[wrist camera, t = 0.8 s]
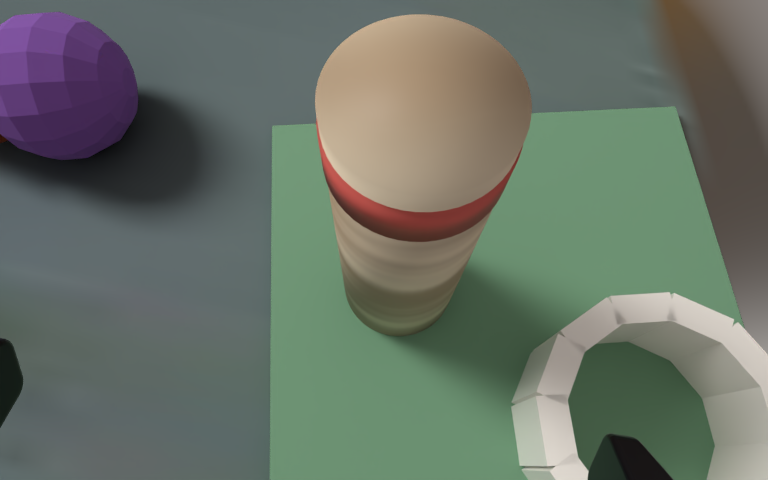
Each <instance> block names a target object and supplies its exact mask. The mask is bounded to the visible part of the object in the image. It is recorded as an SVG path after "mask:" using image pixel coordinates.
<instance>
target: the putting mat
mask: <svg viewBox="0 0 768 480" xmlns="http://www.w3.org/2000/svg"><path fill="white" fill-rule="evenodd" d="M664 292H670V294H673V293H675V294H678V295H680V296H682V297H685V298H687V299H689V300H691V301H694V302H696V303H698V304H701V305H703V306H705V307H707V308H710V309H712V310H714V311H716V312H719V313H721V314H723V315H726V316H728V317H730V318H732V319H734V322H733V324H734V323H737V322H738V323H739V324H740V325H741V326H742V327H743V328H744V325H743V321H742V318H741V315H740V312H739V309H738V305H737V302H736V299H735V296H734V293H733V289H732V286H731V283H730V280H729V277H728V273H727V270H726V267H725V264H724V261H723V257H722V254H721V251H720V248H719V245H718V241H717V238H716V235H715V232H714V229H713V225H712V222H711V219H710V216H709V213H708V209H707V206H706V203H705V200H704V197H703V193H702V190H701V187H700V184H699V181H698V177H697V174H696V171H695V168H694V165H693V161H692V158H691V155H690V152H689V148H688V145H687V142H686V139H685V136H684V132H683V129H682V126H681V123H680V120H679V116H678V113H677V110H676V107H655V108H635V109H614V110H593V111H572V112H551V113H531V122H530V127H529V130H528V133H527V136H526V139H525V141H524V143H523V148H522V151H521V154H520V157H519V159H518V162H517V164H516V166H515V168H514V170H513V172H512V174H511V176H510V179H509V181H508V183H507V185H506V187H505V189H504V191H503V193H502V195H501V197H500V199H499V200H498V202H497V204H496V205H495V206H494V208H493V210H492V212H491V214H490V216H489V218H488V220H487V222H486V224H485V227H484V229H483V231H482V233H481V235H480V237H479V239H478V242H477V244H476V246H475V248H474V250H473V252H472V254H471V257H470V259H469V261H468V263H467V265H466V267H465V269H464V271H463V274H462V276H461V278H460V280H459V282H458V284H457V286H456V289H455V291H454V293H453V295H452V297H451V299H450V301H449V304H448V306H447V308H446V309H445V311H444V313H443V314H442V316H441V317H440V318H439V319H438V320H437V321H436V322H435V323H434V324H433V325H431V326H430V327H429V328H427V329H425V330H424V331H421V332H419V333H416V334H412V335H408V336H390V335H385V334H382V333H379V332H377V331H374V330H373V329H371V328H369V327H368V326H366V325H365V324H364V323H362V322H361V321H360V320H359V319H358V318H357V316H356V315H355V314H354V312H353V311H352V309H351V307H350V305H349V303H348V300H347V297H346V293H345V287H344V281H343V275H342V269H341V263H340V256H339V250H338V244H337V238H336V232H335V226H334V220H333V214H332V208H331V201H330V195H329V189H328V185H327V182H326V179H325V175H324V171H323V166H322V160H321V154H320V148H319V143H318V137H317V127H316V124H301V125H280V126H272V232H271V376H270V480H528V479H527V477H526V476H525V474H524V473H523V472H522V469H523V468H525V467H526V466H520V464H519V457H518V450H517V444H516V437H515V430H514V423H513V416H512V410H511V406H513V405H515V404H513V403H511V402H512V400H513V397H514V395H515V392H516V390H517V387H518V384H519V382H520V379H521V377H522V374H523V372H524V369H525V366H526V364H527V361H528V359H529V356H530V354H531V352H533V350H534V349H535V348H537V347H538V346H539V345H541V344H542V343H544V342H545V341H546V340H548V339H549V338H550V337H552V336H553V335H555V334H556V333H557V332H559V331H560V330H562V329H563V328H564V327H566V326H567V325H568V324H570V323H571V322H573V321H574V320H575V319H577V318H578V317H580V316H581V315H582V314H584V313H585V312H587V311H588V310H589V309H591V308H592V307H594V306H595V305H596V304H598V303H599V302H601V301H602V300H603V299H605V298H606V297H607V298H608V297H610V296H616V295H632V294H648V293H664ZM744 329H745V328H744ZM568 405H569V410H570V416H571V421H572V427H573V432H574V437H575V443H576V448H577V454H578V458H579V459H580V460H581V462H582V463H583V464H584V466H585V467H586V468H587V470H588V471H589V468H590V466H591V463H592V461H593V459H594V457H595V454H596V452H597V450H598V448H599V446H600V443H601V441H602V439H603V438H604V436H605V435H607V434H609V433H613V434H619V435H626V436H632V437H634V438H636V439H638V440H639V441H640V442H641V443H642V444H643V445H644V446H645V448H646V449H647V450H648V451H649V452H650V453H651V454H652V456H653V457H654V458H655V459H656V460H657V461H658V462H659V463H660V465H661V466H662V467H663V468H664V469H665V470H666V471H667V473H668V474H669V475H670V476H671V477H672V478H673V479H674V480H707V476H708V472H709V468H710V463H711V459H712V455H713V451H714V447H715V444H714V441H713V437H712V433H711V429H710V426H709V422H708V418H707V415H706V411H705V407H704V404H703V400H702V398H701V396H700V395H699V394H698V393H697V392H696V391H695V389H694V388H693V387H692V386H691V385H690V384H689V382H688V381H687V380H686V379H685V378H684V376H683V375H682V374H681V373H680V372H679V371H678V369H677V368H676V367H675V366H674V365H673V363H672V362H671V361H669V360H667V359H665V358H663V357H661V356H659V355H656V354H654V353H652V352H650V351H648V350H645V349H643V348H641V347H639V346H637V345H635V344H632V343H630V342H616V343H600V344H595V345H594V346H592V347H591V348H590V349H588V350H587V351H585V352H584V355H583V358H582V361H581V364H580V367H579V369H578V372H577V375H576V378H575V381H574V384H573V386H572V389H571V392H570V395H569V398H568Z"/></svg>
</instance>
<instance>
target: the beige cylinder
mask: <svg viewBox="0 0 768 480" xmlns="http://www.w3.org/2000/svg"><path fill="white" fill-rule="evenodd" d="M315 107H316V116H317V119H316V127H317V137H318V143H319V148H320V154H321V160H322V166H323V171H324V175H325V179H326V182H327V185H328V189H329V195H330V201H331V208H332V214H333V220H334V226H335V232H336V238H337V244H338V250H339V256H340V263H341V269H342V275H343V281H344V287H345V293H346V297H347V300H348V303H349V305H350V307H351V309H352V311H353V312H354V314H355V315H356V316H357V318H358V319H359V320H360V321H361V322H362V323H364V324H365V325H366V326H368V327H369V328H371V329H373V330H374V331H377V332H379V333H382V334H385V335H390V336H408V335H412V334H416V333H419V332H421V331H424V330H425V329H427V328H429V327H430V326H431V325H433V324H434V323H435V322H436V321H437V320H438V319H439V318H440V317H441V316H442V314H443V313H444V311H445V309H446V308H447V306H448V304H449V301H450V299H451V297H452V295H453V293H454V291H455V289H456V286H457V284H458V282H459V280H460V278H461V276H462V274H463V271H464V269H465V267H466V265H467V263H468V261H469V259H470V257H471V254H472V252H473V250H474V248H475V246H476V244H477V242H478V239H479V237H480V235H481V233H482V231H483V229H484V227H485V224H486V222H487V220H488V218H489V216H490V214H491V212H492V210H493V208H494V206H495V205H496V204H497V202H498V200H499V199H500V197H501V195H502V193H503V191H504V189H505V187H506V185H507V183H508V181H509V179H510V176H511V174H512V172H513V170H514V168H515V166H516V164H517V162H518V159H519V157H520V154H521V151H522V148H523V143H524V141H525V139H526V136H527V133H528V130H529V127H530V122H531V113H532V103H531V95H530V91H529V87H528V83H527V81H526V78H525V76H524V74H523V72H522V70H521V68H520V67H519V65H518V63H517V62H516V60H515V59H514V58H513V57H512V55H511V54H510V53H509V52H508V51H507V50H506V49H505V48H504V47H503V46H502V45H501V44H500V43H499V42H498V41H496V40H495V39H494V38H492V37H491V36H490V35H488V34H486V33H485V32H483V31H481V30H480V29H478V28H476V27H473V26H471V25H469V24H467V23H464V22H461V21H458V20H455V19H451V18H447V17H442V16H434V15H404V16H397V17H392V18H388V19H384V20H381V21H378V22H375V23H373V24H371V25H368V26H366V27H364V28H362V29H361V30H359V31H357V32H355V33H354V34H352V35H351V36H350V37H348V38H347V39H346V40H345V41H343V42H342V43H341V44H340V45H339V46H338V47H337V48H336V49H335V51H334V52H333V53H332V55H331V56H330V57H329V58H328V60H327V62H326V64H325V65H324V67H323V69H322V72H321V74H320V77H319V79H318V84H317V88H316V97H315Z"/></svg>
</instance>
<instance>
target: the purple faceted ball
mask: <svg viewBox="0 0 768 480" xmlns="http://www.w3.org/2000/svg"><path fill="white" fill-rule="evenodd" d="M137 107H138V90H137V83H136V79H135V75H134V71H133V68H132V66H131V64H130V62H129V59H128V57H127V55H126V54H125V53H124V51H123V50H122V49H121V47H120V46H119V45H118V44H117V43H115V42H114V41H113V40H112V39H111V38H110V37H109V36H107V35H106V34H105V33H104V32H103V31H102V30H100V29H99V28H97V27H96V26H94V25H93V24H91V23H90V22H88V21H85V20H82V19H79V18H76V17H73V16H70V15H67V14H64V13H61V12H52V13H37V14H26V15H14V16H13V17H11V18H10V19H8V20H7V21H5V22H4V23H2V24H1V25H0V143H3V142H5V141H10V142H11V143H12V144H14V145H15V146H16V147H17V148H19V149H22V150H25V151H28V152H31V153H34V154H37V155H40V156H43V157H48V158H53V159H58V160H68V159H81V158H89V157H90V156H92V155H94V154H96V153H98V152H99V151H101V150H103V149H105V148H107V147H109V146H110V145H112V144H114V143H116V142H118V141H120V140H121V138H122V137H123V135H124V134H125V132H126V130H127V129H128V127H129V126H130V124H131V123H132V121H133V119H134V117H135V115H136V113H137Z"/></svg>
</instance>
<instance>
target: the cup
mask: <svg viewBox="0 0 768 480" xmlns="http://www.w3.org/2000/svg"><path fill="white" fill-rule="evenodd" d="M733 322H734V319H732V318H730V317H728V316H726V315H723V314H721V313H719V312H716V311H714V310H712V309H710V308H707V307H705V306H703V305H701V304H698V303H696V302H694V301H691V300H689V299H687V298H685V297H682V296H680V295H678V294H675V293H673V294H670V292H664V293H648V294H632V295H616V296H610V297H608V298H607V297H606V298H605V299H603V300H602V301H601V302H599V303H598V304H596V305H595V306H594V307H592V308H591V309H589V310H588V311H587V312H585V313H584V314H582V315H581V316H580V317H578V318H577V319H575V320H574V321H573V322H571V323H570V324H568V325H567V326H566V327H564V328H563V329H562V330H560V331H559V332H557V333H556V334H555V335H553V336H552V337H550V338H549V339H548V340H546V341H545V342H544V343H542V344H541V345H539V346H538V347H537V348H535V349H534V350H533V352H531V354H530V356H529V359H528V361H527V364H526V366H525V369H524V372H523V374H522V377H521V379H520V382H519V384H518V387H517V390H516V392H515V395H514V397H513V400H512V402H511V403H513V404H515V405H513V406H511V410H512V416H513V423H514V430H515V437H516V444H517V450H518V457H519V464H520V466H526V467H525V468H523V469H522V472H523V473H524V474H525V476H526V477H527V479H528V480H588V472H589V471H588V470H587V468H586V467H585V466H584V464H583V463H582V462H581V460H580V459H579V458H578V454H577V448H576V443H575V437H574V432H573V427H572V421H571V416H570V410H569V405H568V398H569V395H570V392H571V389H572V386H573V384H574V381H575V378H576V375H577V372H578V369H579V367H580V364H581V361H582V358H583V355H584V352H585V351H587V350H588V349H590V348H591V347H592V346H594V345H595V344H600V343H616V342H630V343H632V344H635V345H637V346H639V347H641V348H643V349H645V350H648V351H650V352H652V353H654V354H656V355H659V356H661V357H663V358H665V359H667V360H669V361H671V362H672V363H673V365H674V366H675V367H676V368H677V369H678V371H679V372H680V373H681V374H682V375H683V376H684V378H685V379H686V380H687V381H688V382H689V384H690V385H691V386H692V387H693V388H694V389H695V391H696V392H697V393H698V394H699V395H700V396H701V398H702V400H703V404H704V407H705V411H706V415H707V418H708V422H709V426H710V429H711V433H712V437H713V441H714V444H715V447H714V451H713V455H712V459H711V463H710V468H709V472H708V476H707V480H768V354H767V353H766V352H765V351H764V350H763V349H762V348H761V347H760V345H759V344H758V343H757V342H756V341H755V340H754V339H753V338H752V337H751V336H750V335H749V333H748V332H747V331H746V330H745V329H744V328H743V327H742V326H741V325H740V324H739V323H738V322H737V323H734V324H733Z"/></svg>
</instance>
